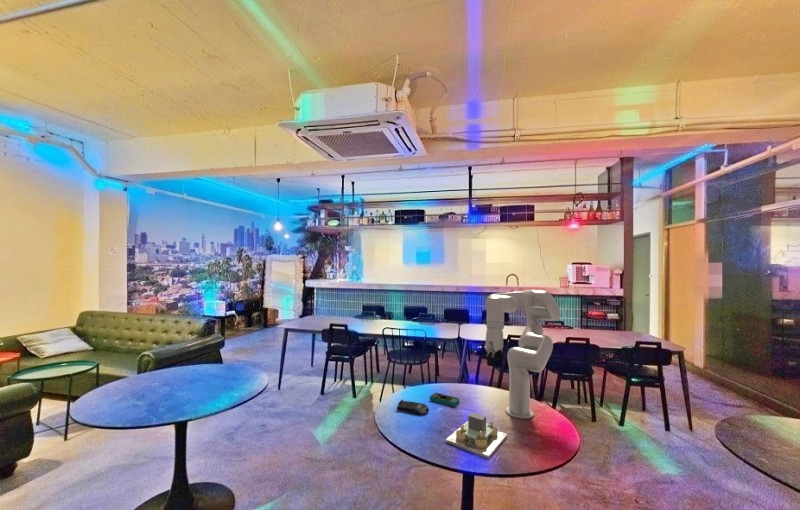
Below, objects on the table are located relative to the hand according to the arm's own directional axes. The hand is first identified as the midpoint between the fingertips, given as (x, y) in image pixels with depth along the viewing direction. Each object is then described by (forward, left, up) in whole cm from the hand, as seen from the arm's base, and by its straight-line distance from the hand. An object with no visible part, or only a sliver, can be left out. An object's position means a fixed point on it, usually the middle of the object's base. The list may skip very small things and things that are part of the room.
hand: (494, 363), depth 146 cm
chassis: (+14, -2, -28) cm, 32 cm away
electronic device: (+8, -38, -29) cm, 48 cm away
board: (+14, -2, -25) cm, 28 cm away
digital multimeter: (-11, -31, -29) cm, 44 cm away
